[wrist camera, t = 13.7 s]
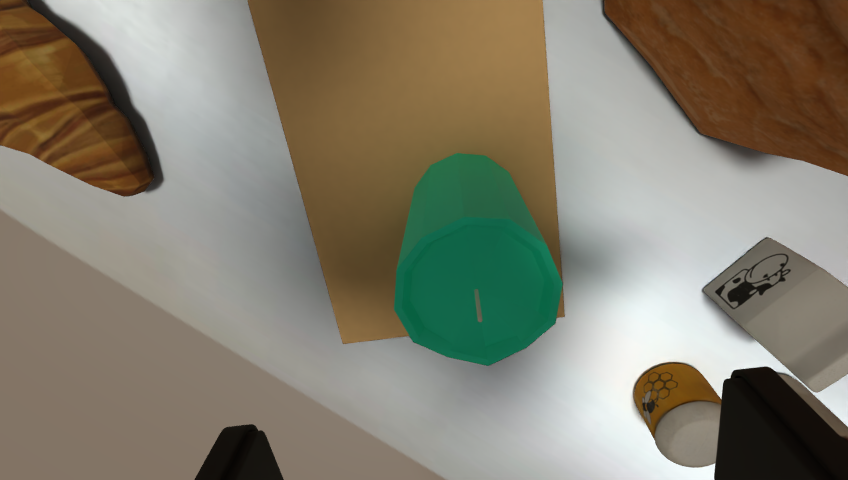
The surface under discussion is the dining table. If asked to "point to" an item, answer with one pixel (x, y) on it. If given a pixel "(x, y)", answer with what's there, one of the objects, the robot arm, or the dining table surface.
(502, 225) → the candle
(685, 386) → the toy food
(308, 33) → the place mat
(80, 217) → the dining table surface
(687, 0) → the bread
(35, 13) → the croissant
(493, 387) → the dining table surface
